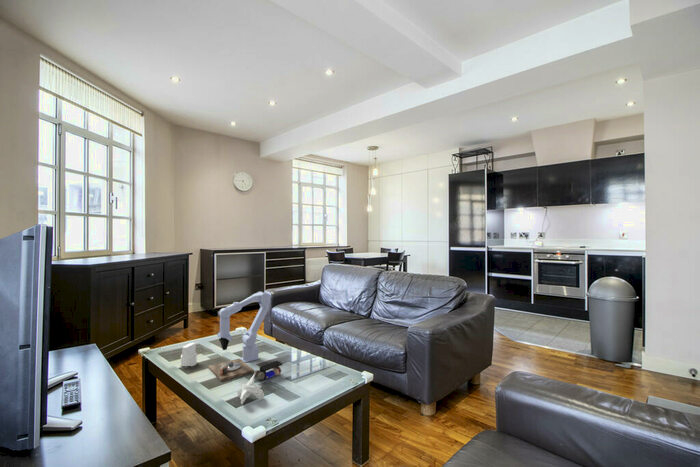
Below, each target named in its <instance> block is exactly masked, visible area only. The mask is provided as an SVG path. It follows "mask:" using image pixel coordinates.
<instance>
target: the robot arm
mask: <svg viewBox="0 0 700 467" xmlns="http://www.w3.org/2000/svg"><path fill="white" fill-rule="evenodd" d="M270 301H271V297H270V296H269V294H268V293H265V292H263V291H257V292H256V293H253V294H251V295H250V296H249V297H246V298H245V299H244V300H241V301H240V302H239V301H233V303H232V304H230V305H228V306H227V305H226V306H225V307H223V308H221V309H220V310H219V312H218V315H219V332H217V335H216V336H217V337H218V341H219V342H220V345H221V349H222V351H226V350H228V346H229V342H230V341H233V336H232V335H231V332H230V331H231V330H230V326H231V325H230V324H231V322H230V318H231V316H232V315H234V314H236V313H238V312H239V311H241V310H242V308H243V307H246V306H248V305H250V304H252V303H254V302H256V303H258V304H259V309H258V311H257V313H256V316H255V318H254V319H253V321H252V324H251V325H250V327H249V329H248V330H247V331H246V332H245V333H244V334H243V335H242V337H241V342H242V343H243V344H242V357H240V358H239V359H241V360H242V361H243V362H244V363H248V362H252V361H255V360H256V361H257V360H259V359H260V358H259V345H258V344H257V343H256V340H257V337H258V331H259V329H260V327H261V325H262V323H263V322H264V319H265V317H266V315H267V314H268V311H269V309H270Z"/></svg>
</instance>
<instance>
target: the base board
mask: <svg viewBox="0 0 700 467" xmlns="http://www.w3.org/2000/svg"><path fill="white" fill-rule="evenodd" d="M228 362H236V363H240V368H239V369H237V370H235V371H228V372H227V367H224V374H223V375H220V369H221V366H222V365H224V364H227V363H228ZM207 369H208V370H209V371H210V372H211V373H212V374H213V375H214V376H215V377H216V378H217V379H218V381H220V382H224V381H227V380H231V379H235V378H239V377H242V376H246V375H249V374H254V372H255V370H254V368H253V367H251V366H249V364H247V362H244V361H242V360H241V359H240V358H236V359H231V360H227V361H224V362H223V361H222V362H220V363H218V362H217V363H215V364H211V365H208V367H207Z"/></svg>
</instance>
